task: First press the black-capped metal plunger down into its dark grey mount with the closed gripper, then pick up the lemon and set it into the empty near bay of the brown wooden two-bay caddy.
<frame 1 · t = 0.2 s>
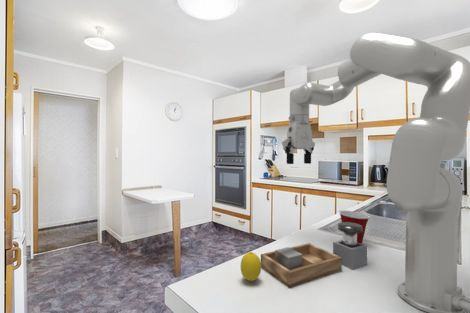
hand: (298, 163, 96), 31 cm above the table, tool pointing down, fingers open, 9 cm apart
caddy: (300, 269, 73), on the table
lemon: (250, 282, 66), on the table
plastic cup: (353, 244, 94), on the table
plunger: (349, 238, 77), point 8 cm above the table, slide at 0.0 cm
mount: (349, 262, 77), on the table
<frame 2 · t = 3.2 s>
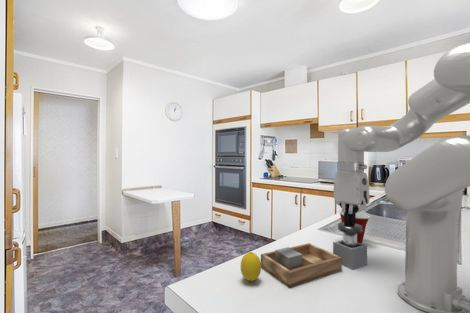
hand: (349, 225, 77), 12 cm above the table, tool pointing down, fingers closed
plunger: (349, 238, 77), point 8 cm above the table, slide at -0.1 cm, touching gripper
everything else where it was.
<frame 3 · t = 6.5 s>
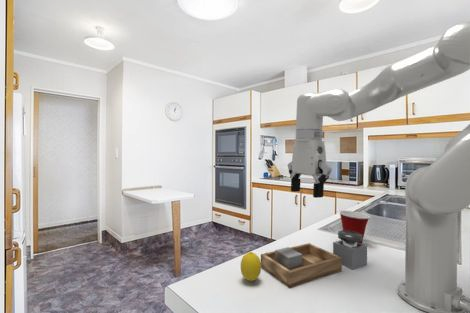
hand: (306, 194, 72), 23 cm above the table, tool pointing down, fingers open, 9 cm apart
plunger: (349, 247, 77), point 5 cm above the table, slide at -2.7 cm
everything else where it was.
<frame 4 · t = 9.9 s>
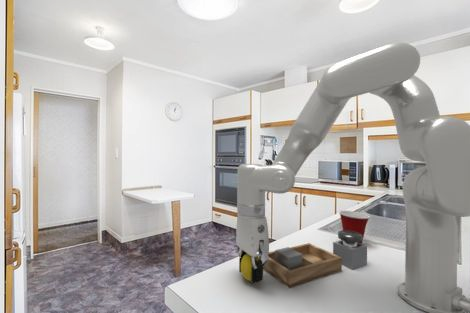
hand: (250, 275, 66), 2 cm above the table, tool pointing down, fingers closed on lemon, 5 cm apart
lemon: (250, 282, 66), on the table, touching gripper
everything else where it was.
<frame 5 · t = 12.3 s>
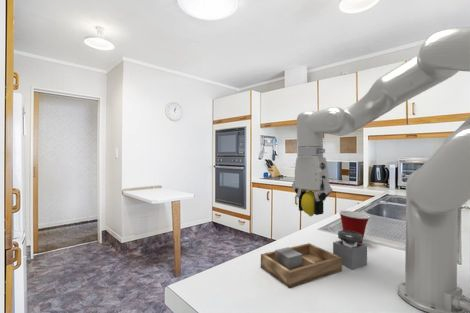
hand: (310, 211, 74), 17 cm above the table, tool pointing down, fingers closed on lemon, 5 cm apart
lemon: (310, 217, 74), point 15 cm above the table, touching gripper
everything else where it was.
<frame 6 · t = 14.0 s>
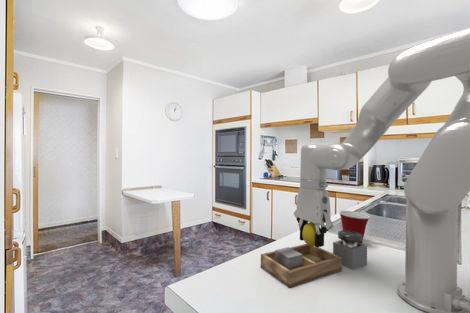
hand: (311, 242, 75), 7 cm above the table, tool pointing down, fingers closed on lemon, 5 cm apart
lemon: (311, 247, 75), point 5 cm above the table, touching gripper
everything else where it was.
when the fingers open (4 cm above the table, at t = 14.9 s): lemon drops 2 cm, resting on caddy.
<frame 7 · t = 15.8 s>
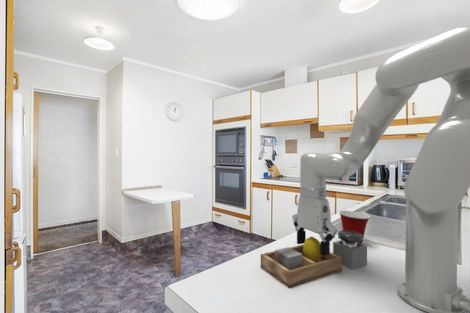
hand: (312, 248, 75), 5 cm above the table, tool pointing down, fingers open, 9 cm apart
lemon: (312, 263, 75), point 1 cm above the table, touching caddy
everything else where it was.
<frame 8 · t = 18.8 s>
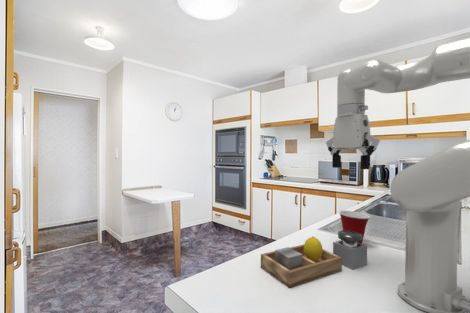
hand: (350, 168, 74), 30 cm above the table, tool pointing down, fingers open, 9 cm apart
nothing on the table moved.
at the end: lemon inside the target area on the caddy (0.2 cm from its centre), point 0.8 cm above the caddy's base; plunger slide at -2.7 cm; the gripper is holding nothing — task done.
